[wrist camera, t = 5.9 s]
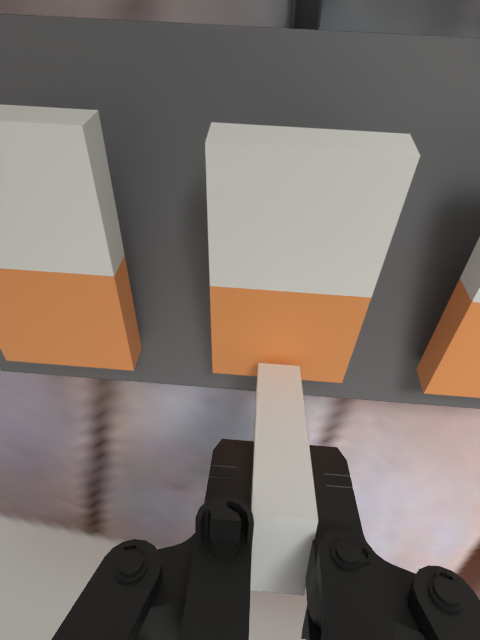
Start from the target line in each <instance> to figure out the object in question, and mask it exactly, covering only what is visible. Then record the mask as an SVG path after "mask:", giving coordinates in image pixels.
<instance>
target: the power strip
mask: <svg viewBox="0 0 480 640" xmlns="http://www.w3.org/2000/svg"><path fill="white" fill-rule="evenodd" d="M322 1H323V0H294V1H293V12H292V23H291V29H290V28H271V27H251V26H231V25H211V24H192V23H172V22H152V21H132V20H113V19H93V18H73V17H53V16H34V15H14V14H0V104H1V105H18V106H36V107H53V108H70V109H87V110H98V112H99V117H100V123H101V128H102V133H103V139H104V144H105V150H106V155H107V161H108V166H109V172H110V177H111V183H112V188H113V194H114V199H115V205H116V210H117V216H118V221H119V227H120V232H121V238H122V243H123V249H124V254H125V260H126V265H127V271H128V276H129V282H130V287H131V293H132V298H133V303H134V309H135V314H136V320H137V325H138V331H139V336H140V342H141V347H142V348H141V351H140V354H139V357H138V360H137V363H136V366H135V369H134V371H131V370H119V369H106V368H93V367H81V366H68V365H55V364H43V363H30V362H17V361H6V359H5V357H4V355H3V353H2V351H1V349H0V369H1V371H11V372H24V373H36V374H49V375H61V376H74V377H87V378H99V379H112V380H124V381H137V382H149V383H162V384H174V385H187V386H200V387H212V388H225V389H237V390H250V391H256V386H257V376H246V375H233V374H220V373H213V369H212V339H211V308H210V278H209V248H208V217H207V187H206V157H205V141H206V138H207V135H208V131H209V128H210V125H211V122H216V123H233V124H251V125H268V126H285V127H302V128H319V129H336V130H353V131H370V132H387V133H404V134H410V135H411V137H412V139H413V141H414V143H415V145H416V147H417V150H418V152H419V154H420V158H419V161H418V164H417V167H416V170H415V172H414V175H413V178H412V181H411V184H410V187H409V190H408V193H407V196H406V199H405V202H404V204H403V207H402V210H401V213H400V216H399V219H398V222H397V225H396V228H395V231H394V234H393V236H392V239H391V242H390V245H389V248H388V251H387V254H386V257H385V260H384V263H383V266H382V268H381V271H380V274H379V277H378V280H377V283H376V286H375V289H374V292H373V295H372V298H371V300H370V303H369V306H368V309H367V312H366V315H365V318H364V321H363V324H362V327H361V330H360V332H359V335H358V338H357V341H356V344H355V347H354V350H353V353H352V356H351V359H350V361H349V364H348V367H347V370H346V373H345V376H344V379H343V382H342V383H335V382H322V381H309V380H301V382H302V390H303V395H313V396H325V397H338V398H350V399H363V400H375V401H388V402H400V403H413V404H426V405H438V406H451V407H463V408H476V409H480V398H474V397H461V396H449V395H436V394H424V393H423V389H422V386H421V383H420V380H419V376H418V373H417V370H416V369H417V367H418V365H419V363H420V361H421V358H422V356H423V354H424V352H425V350H426V348H427V346H428V344H429V342H430V340H431V338H432V335H433V333H434V331H435V329H436V327H437V325H438V323H439V321H440V319H441V317H442V315H443V312H444V310H445V308H446V306H447V304H448V302H449V300H450V298H451V296H452V294H453V292H454V289H455V287H456V285H457V283H458V281H459V279H460V277H461V275H462V273H463V271H464V269H465V266H466V264H467V262H468V260H469V258H470V256H471V254H472V252H473V250H474V248H475V246H476V243H477V241H478V239H479V237H480V38H468V37H448V36H428V35H409V34H389V33H369V32H349V31H330V30H319V27H320V18H321V9H322Z"/></svg>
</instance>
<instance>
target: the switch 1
mask: <svg viewBox="0 0 480 640" xmlns="http://www.w3.org/2000/svg"><path fill="white" fill-rule="evenodd" d="M141 348H142V347H141V342H140V336H139V331H138V325H137V320H136V314H135V309H134V303H133V298H132V293H131V287H130V282H129V276H128V271H127V265H126V260H125V254H124V249H123V243H122V238H121V232H120V227H119V221H118V216H117V210H116V205H115V199H114V194H113V188H112V183H111V177H110V172H109V166H108V161H107V155H106V150H105V144H104V139H103V133H102V128H101V123H100V117H99V112H98V110H87V109H70V108H53V107H36V106H18V105H1V104H0V349H1V351H2V353H3V355H4V357H5V359H6V361H17V362H30V363H43V364H55V365H68V366H81V367H93V368H106V369H119V370H131V371H134V369H135V366H136V363H137V360H138V357H139V354H140V351H141Z"/></svg>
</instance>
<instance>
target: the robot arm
mask: <svg viewBox="0 0 480 640" xmlns="http://www.w3.org/2000/svg"><path fill="white" fill-rule="evenodd" d="M305 588H306V591H307V609H306V614H305V619H304V624H303V630H302V637H301V638H302V639H306V640H480V600H479V599H478V597H477V596H476V594H475V593H474V591H473V590H472V589H471V588H470V586H469V585H468V584H467V583H466V582H465V581H464V580H463V579H462V578H461V577H460V576H458V575H457V574H455V573H454V572H453V571H450V570H448V569H445V568H443V567H440V566H426V567H424V568H421V569H419V571H418V572H417V574H415V573H412V572H410V571H407V570H405V569H402V568H400V567H397V566H395V565H392V564H390V563H388V562H386V561H385V560H383V559H382V558H381V557H379V556H378V555H377V554H376V553H375V552H374V551H373V550H372V548H371V547H370V546H369V545H368V543H367V542H366V540H365V537H364V535H363V531H362V527H361V522H360V518H359V513H358V509H357V504H356V500H355V495H354V491H353V489H352V482H351V478H350V473H349V469H348V464H347V460H346V459H345V458H344V456H343V455H342V453H341V452H340V451H339V449H338V448H337V447H326V446H314V445H309V440H308V431H307V423H306V415H305V406H304V398H303V390H302V382H301V373H300V366H293V365H280V364H267V363H258V374H257V386H256V398H255V410H254V421H253V440H252V441H242V440H230V439H222V440H221V441H220V442H219V443H218V445H217V446H216V447H215V449H214V450H213V455H212V461H211V467H210V473H209V479H208V485H207V491H206V497H205V503H204V504H203V505H202V506H201V507H200V508H199V511H198V513H197V515H196V533H195V534H194V535H193V536H192V537H191V538H189V539H188V540H186V541H185V542H183V543H181V544H178V545H175V546H171V547H167V548H162V549H158V550H157V549H156V547H155V546H154V545H152V544H150V543H149V542H147V541H144V540H136V539H134V540H129V541H125V542H122V543H121V544H119V545H117V546H115V547H114V548H112V549H111V551H110V552H109V553H108V554H107V555H106V556H105V557H104V559H103V561H102V562H101V564H100V565H99V567H98V568H97V570H96V571H95V573H94V574H93V576H92V578H91V579H90V581H89V582H88V584H87V585H86V587H85V588H84V590H83V592H82V593H81V595H80V596H79V598H78V599H77V601H76V602H75V604H74V606H73V607H72V609H71V610H70V612H69V613H68V615H67V616H66V618H65V620H64V621H63V623H62V624H61V626H60V627H59V629H58V630H57V632H56V633H55V635H54V637H53V638H52V640H248V638H249V611H250V590H252V591H263V592H273V593H285V594H295V595H304V593H305Z"/></svg>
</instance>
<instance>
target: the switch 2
mask: <svg viewBox="0 0 480 640" xmlns="http://www.w3.org/2000/svg"><path fill="white" fill-rule="evenodd" d="M416 370H417V373H418V376H419V380H420V383H421V386H422V389H423V393H424V394H436V395H449V396H461V397H474V398H480V237H479V239H478V241H477V243H476V246H475V248H474V250H473V252H472V254H471V256H470V258H469V260H468V262H467V264H466V266H465V269H464V271H463V273H462V275H461V277H460V279H459V281H458V283H457V285H456V287H455V289H454V292H453V294H452V296H451V298H450V300H449V302H448V304H447V306H446V308H445V310H444V312H443V315H442V317H441V319H440V321H439V323H438V325H437V327H436V329H435V331H434V333H433V335H432V338H431V340H430V342H429V344H428V346H427V348H426V350H425V352H424V354H423V356H422V358H421V361H420V363H419V365H418V367H417V369H416Z"/></svg>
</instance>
